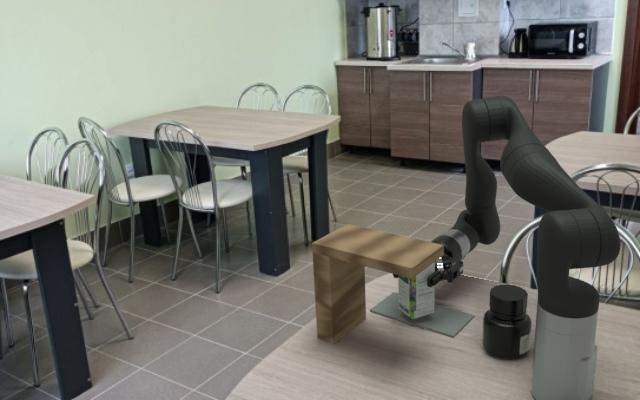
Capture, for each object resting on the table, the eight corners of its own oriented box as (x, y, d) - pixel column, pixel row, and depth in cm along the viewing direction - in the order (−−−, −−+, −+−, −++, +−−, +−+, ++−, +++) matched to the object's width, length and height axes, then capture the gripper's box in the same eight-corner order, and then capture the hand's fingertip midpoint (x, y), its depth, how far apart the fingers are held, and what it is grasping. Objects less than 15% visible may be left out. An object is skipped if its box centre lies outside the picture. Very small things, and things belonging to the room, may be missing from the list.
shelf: (442, 343, 123) (443, 245, 116) (412, 372, 114) (412, 268, 107) (350, 313, 136) (347, 223, 129) (317, 338, 127) (312, 243, 120)
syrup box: (397, 308, 134) (396, 246, 129) (420, 301, 136) (420, 240, 131) (412, 320, 129) (411, 256, 124) (435, 312, 131) (436, 249, 126)
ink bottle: (535, 362, 115) (539, 305, 111) (486, 362, 116) (488, 304, 112) (523, 335, 124) (527, 280, 121) (478, 334, 125) (480, 280, 122)
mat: (474, 316, 132) (474, 315, 132) (453, 337, 125) (453, 335, 125) (393, 293, 144) (393, 292, 144) (369, 311, 136) (369, 309, 136)
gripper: (419, 229, 143) (381, 254, 131) (477, 241, 135) (443, 269, 123) (419, 258, 146) (382, 286, 133) (476, 272, 137) (443, 303, 125)
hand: (411, 278), depth 128 cm, fingers closed on syrup box, 7 cm apart
